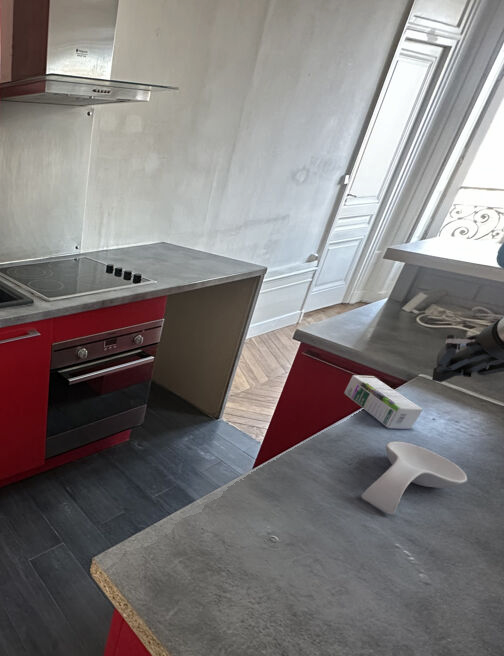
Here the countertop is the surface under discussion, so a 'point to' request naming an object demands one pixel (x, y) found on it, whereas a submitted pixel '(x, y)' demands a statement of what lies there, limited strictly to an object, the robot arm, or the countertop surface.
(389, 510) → the spoon rest
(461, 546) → the countertop surface
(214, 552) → the countertop surface
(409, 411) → the syrup box
